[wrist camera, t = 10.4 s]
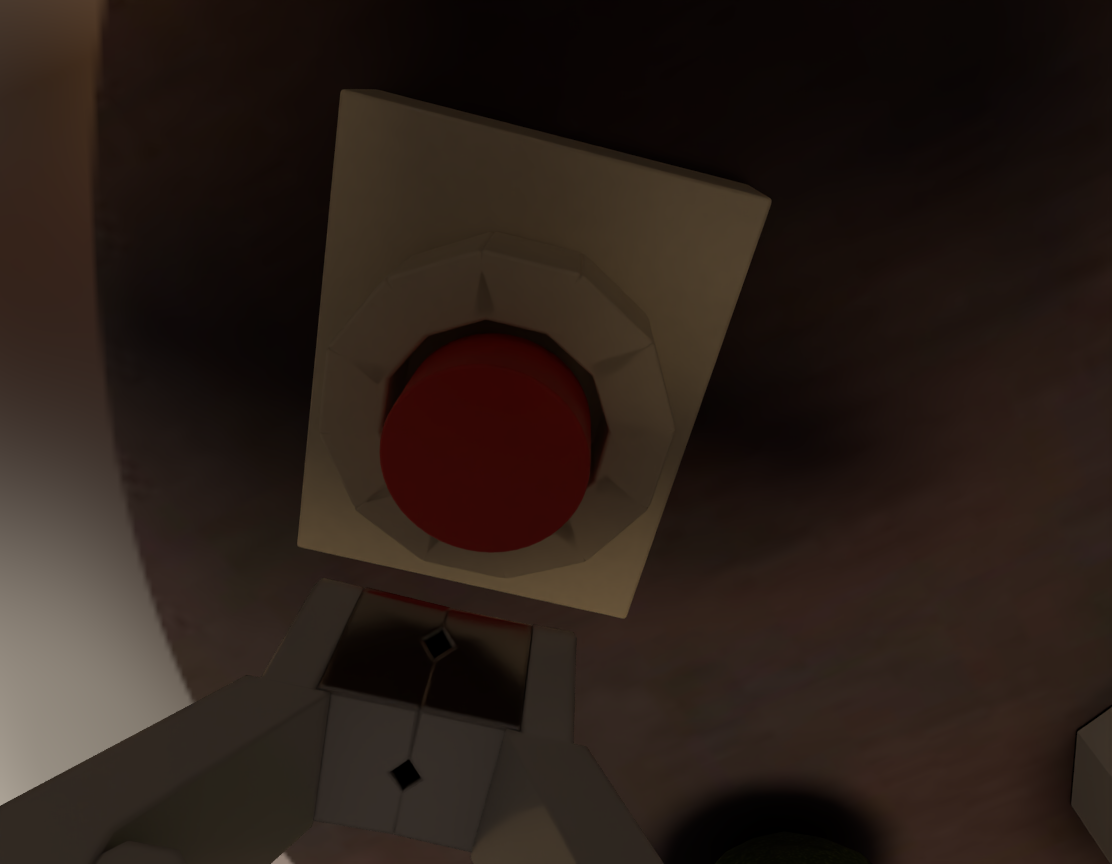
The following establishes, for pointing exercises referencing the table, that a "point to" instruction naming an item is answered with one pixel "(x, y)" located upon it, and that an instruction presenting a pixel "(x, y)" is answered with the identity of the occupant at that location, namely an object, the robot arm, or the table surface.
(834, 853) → the fruit
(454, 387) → the button
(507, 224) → the button block
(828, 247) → the table surface
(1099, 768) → the mug
